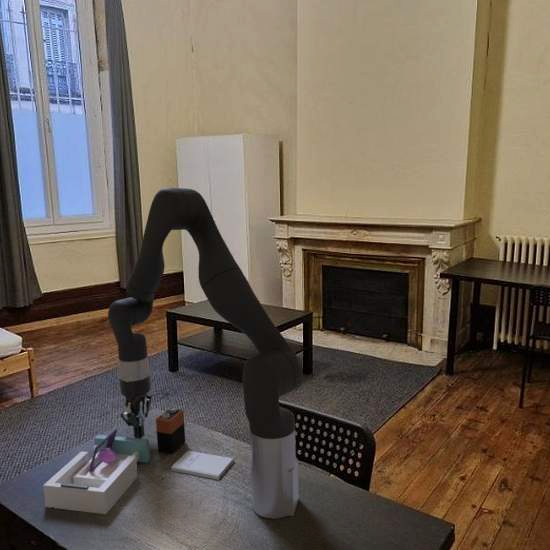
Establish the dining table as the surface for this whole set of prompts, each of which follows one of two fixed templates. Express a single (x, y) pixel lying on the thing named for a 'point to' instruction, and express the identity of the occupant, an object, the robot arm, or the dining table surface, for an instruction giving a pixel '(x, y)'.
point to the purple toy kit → (105, 451)
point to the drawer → (104, 470)
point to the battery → (170, 430)
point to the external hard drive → (203, 464)
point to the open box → (84, 497)
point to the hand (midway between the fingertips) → (139, 437)
